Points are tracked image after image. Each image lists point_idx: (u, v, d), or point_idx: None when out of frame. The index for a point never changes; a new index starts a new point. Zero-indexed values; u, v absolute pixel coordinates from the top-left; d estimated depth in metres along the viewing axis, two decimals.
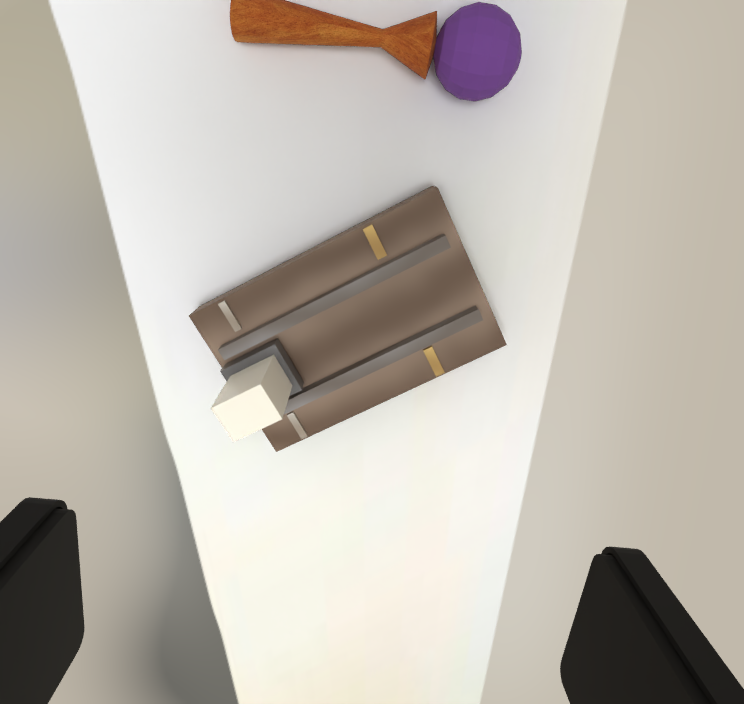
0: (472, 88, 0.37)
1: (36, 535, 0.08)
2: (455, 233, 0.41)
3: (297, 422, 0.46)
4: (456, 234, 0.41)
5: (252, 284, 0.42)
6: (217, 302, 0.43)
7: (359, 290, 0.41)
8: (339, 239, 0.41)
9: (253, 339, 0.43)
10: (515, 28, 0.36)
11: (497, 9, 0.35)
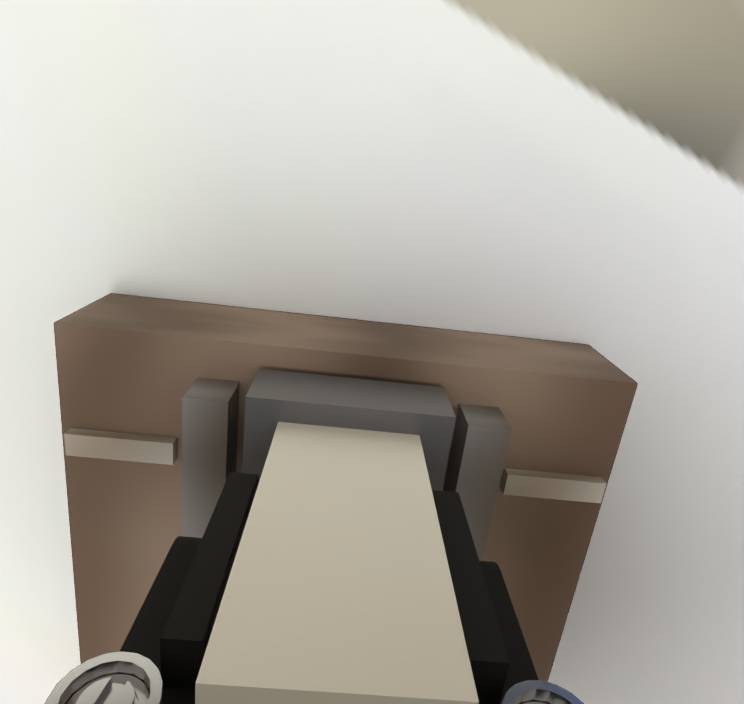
0: None
1: None
2: None
3: (131, 457, 0.13)
4: None
5: (576, 574, 0.15)
6: (606, 475, 0.14)
7: None
8: None
9: None
10: None
11: None
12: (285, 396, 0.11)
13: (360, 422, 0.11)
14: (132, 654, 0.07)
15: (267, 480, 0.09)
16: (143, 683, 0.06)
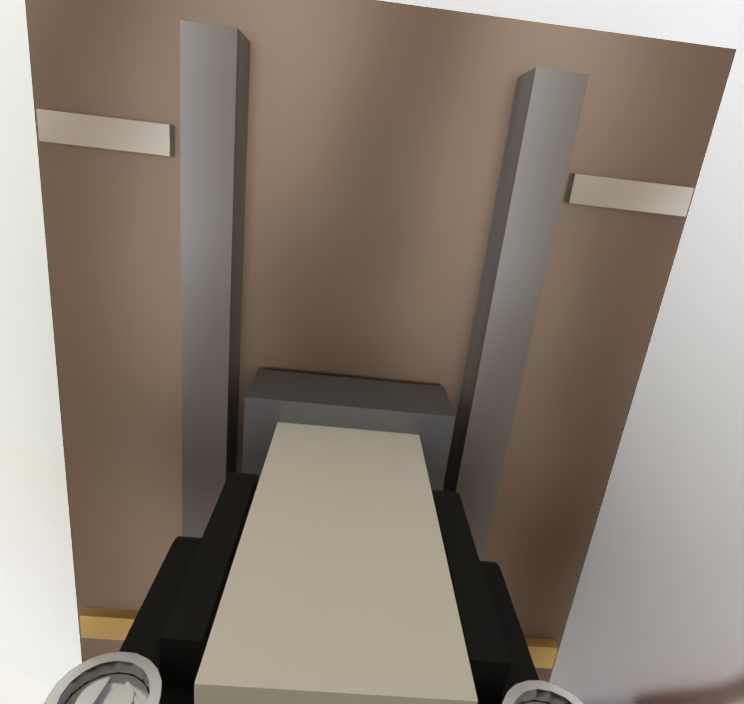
0: None
1: None
2: None
3: (119, 144, 0.11)
4: None
5: (650, 326, 0.13)
6: (691, 184, 0.12)
7: None
8: (573, 587, 0.15)
9: (527, 235, 0.11)
10: None
11: None
12: (285, 396, 0.11)
13: (359, 422, 0.11)
14: (132, 654, 0.07)
15: (265, 481, 0.09)
16: (143, 683, 0.06)
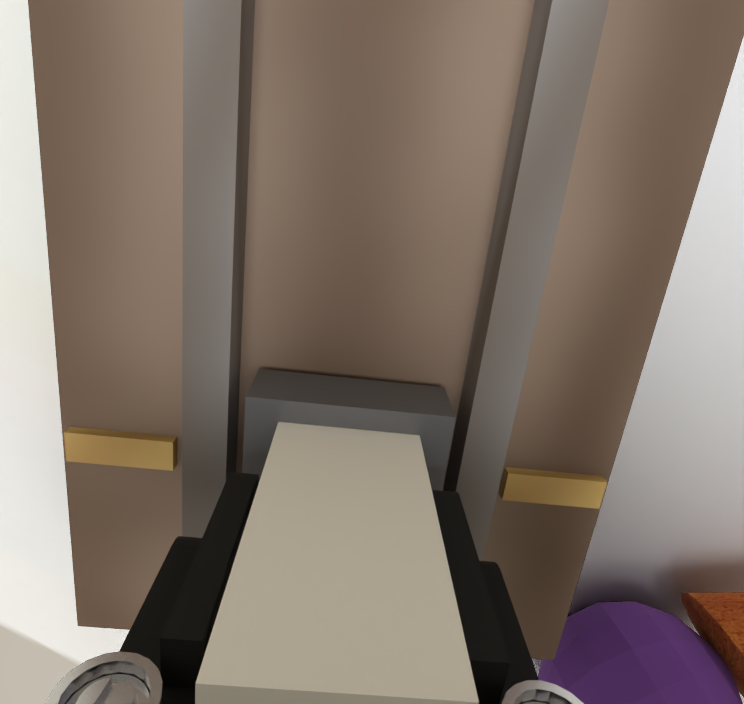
0: (639, 701, 0.15)
1: None
2: None
3: None
4: None
5: (730, 63, 0.11)
6: None
7: (481, 399, 0.12)
8: (626, 409, 0.13)
9: None
10: None
11: None
12: (286, 396, 0.11)
13: (360, 422, 0.11)
14: (132, 654, 0.07)
15: (267, 481, 0.09)
16: (143, 683, 0.06)
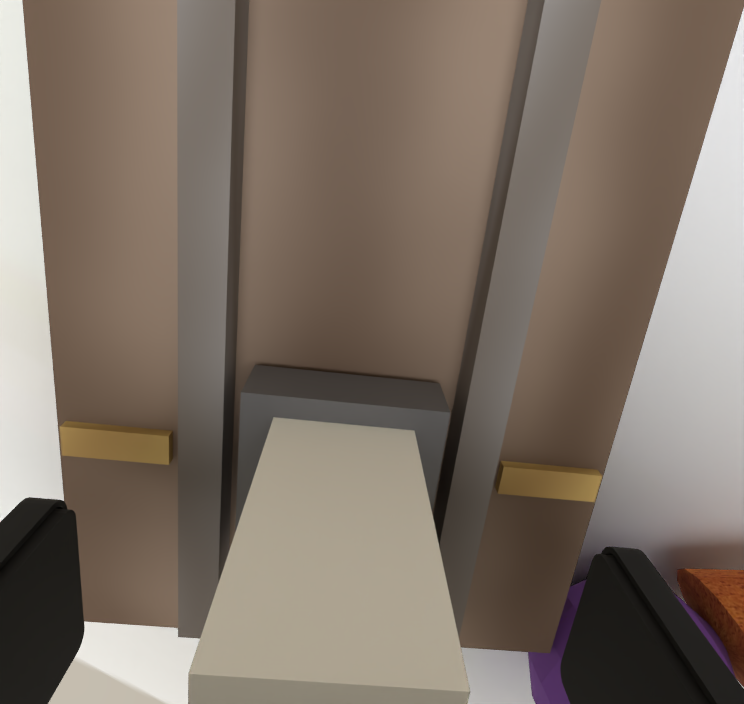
0: None
1: (36, 535, 0.08)
2: None
3: None
4: None
5: (724, 56, 0.11)
6: None
7: (476, 392, 0.12)
8: (621, 402, 0.13)
9: None
10: None
11: None
12: (280, 392, 0.11)
13: (355, 417, 0.11)
14: None
15: (261, 475, 0.09)
16: None
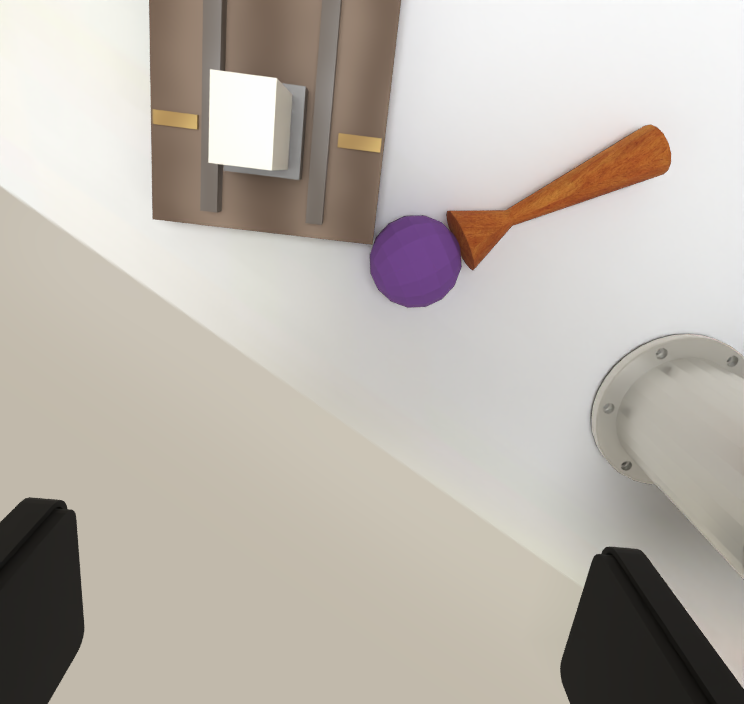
0: (404, 229, 0.33)
1: (36, 535, 0.08)
2: (315, 235, 0.34)
3: None
4: (313, 235, 0.34)
5: None
6: None
7: (318, 85, 0.30)
8: (387, 103, 0.32)
9: None
10: (398, 300, 0.35)
11: (425, 303, 0.35)
12: None
13: None
14: None
15: None
16: None
